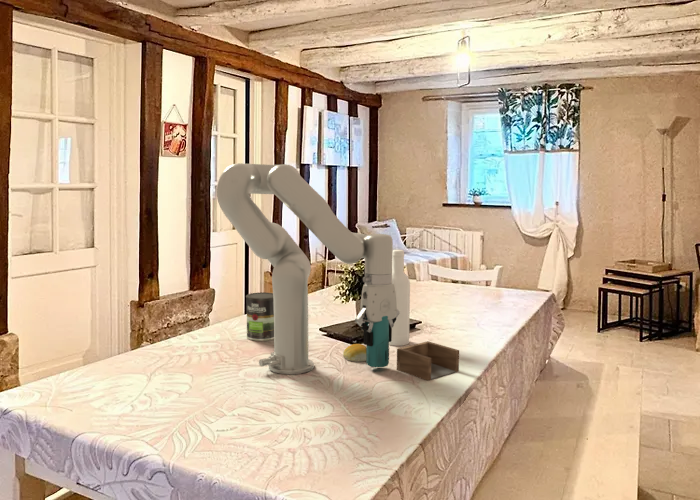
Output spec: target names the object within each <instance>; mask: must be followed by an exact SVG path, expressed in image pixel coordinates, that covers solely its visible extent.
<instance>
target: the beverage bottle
mask: <svg viewBox="0 0 700 500" xmlns="http://www.w3.org/2000/svg"><path fill="white" fill-rule="evenodd" d="M368 325H369V322H368V324H367V326H368ZM371 332H373V346H367V345H365V346H366V357H367V358H366V359H367V361H366V364H367V366H369V367H372V368H385V367H387V366H389V363H390V345H389V320H388V316H383V317H382V321H380V322H376V323H374V324H373V327H372V330H371Z"/></svg>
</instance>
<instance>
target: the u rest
mask: <svg viewBox="0 0 700 500" xmlns="http://www.w3.org/2000/svg"><path fill="white" fill-rule="evenodd" d="M459 368H460V349H456V348H453V347H449V346H446V345H442V344H439V343H435V342H432V341H424V342H420V343H415V344H412V345H405V346H401V347H398V348H396V371H399V372H402V373H405V374H408V375H411V376H413V377H417V378H419V379H422V380H424V381H432V380H434V379H438V378H442V377H445V376H448V375H451V374H454V373H458V372H459V371H460V369H459Z"/></svg>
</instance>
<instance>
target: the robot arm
mask: <svg viewBox="0 0 700 500" xmlns="http://www.w3.org/2000/svg"><path fill="white" fill-rule="evenodd" d="M250 194H251V195H252V194H253V195H255V194H256V195H275V196H276V197H277V199H279V200H280V201H281V202H282V203H283V204H284V205H285V207H287V208H288V209H289V210H290V211H291V212H292V213H293V214H294V215H295V216H296V217H297V218H298V219H299V220H300V221H301V222H302V223H303V224H304V225H305V226H306V228H307V229H308V230H309V231H311V233H312V234H313V235H314V236H315V237H316V238H317V239H318V240H319V242H320V243H321V244H322V245H324V247H326V248H327V250H328V251H330V252H331V254H333V256H335V257H336V258H337V259H338V260H339V261H340V262H343V263H345V264H347V265H348V264H349V265H353V264H356V263H358V262H359V261H360V260H362V259H364V276H363V277H362V282H363V283H364V284H363V286H362V290H361V299H360V310H359V312H358V314H357V316H356V317H355V319H354V322H355V323H356V324H357V325H358V326H359V328H360V329H361V331H363V345H364V346H366V345H367V346H373V332H371V330H372V327H373V324H374V323H376V322H380V321H382V317H383V316H388V320H389V342H391V341H392V327H393V326H394V323H395V321H396V318H397V317H398V315H399V314H400V312H399V310H398V309H397V299H396V291H395V286H394V283H392V253H393V250H394V249H393V248H394V247H393V238H392V236H391V235H389V234H386V233H373V234H365V233H358V232H352V231H351V230H349V228H348V227H347V226H345V224H344V223H343V222H342V221H340V219H339V218H338V217H337V216H336V214H335V213H334V212H333V210H332V208H331V207H330V205H329V204H328V202H327V201H326V200H325V198H324V197H323V196H322V195H321V194H320V193H319V192H317V191H316V190H315V189H314V188H313V187H312V186H311V185H310V184H309V183H308V182H307V181H306V180H305V179H304V178H303V177H302V176H301V174H300V172H299V171H298V169H297V168H296V167H294V165H290V164H283V163H282V164H262V163H261V164H260V163H259V164H258V163H241V162H240V163H233V164H231V165H229V166H227V167H226V168H225V169H224V170H223V172H222V173H221V174H220V177H219V179H218V181H217V186H216V197H217V198H216V199H217V202H218V205H219V208H220V210H221V211H222V212H223V214H224V216H225V217H226V218H227V220H228V221H229V222H230V223H231V224H232V226H233V227H234V228H235V230H236V232H237V233H238V234H239V236H240V237H241V238H242V239H243V241H244V242H245V244H247V246H248V247H249V248H250V249H251V251H252V252H253V253H254V254H255V256H256V257H258V258H260V259H263V260H267V261H268V263H270V265H272V267H273V269H272V274H271V284H272V285H271V286H272V293H273V301H274V339H273V345H274V346H273V348H274V349H273V352H271V353H270V356H268V358H262V359H259V360H258V365H259V366H260V367H265V366H268V369H269V371H271V372H273V373H276V374H282V375H299V374H304V373H307V372H310V371H312V370H313V369H314V367H315V363H314V361H313V360H312V359H309V295H308V294H309V293H308V292H309V290H308V283H309V282H308V281H309V277H310V274H311V271H312V270H311V269H312V265H311V262H310V260H309V258H308V257H307V255H306V253H304V251H303V250H302V249H301V248H300V246H299V245H298V244H297V242H296V241H295V240H294V238H292V236H291V235H290V233H289V232H288V231H287V229H285V228H284V226H281V224H279V223H275V222H271V221H270V220H269V219H268V218H267V217H266V215H265V214H264V213H263V211H262V210H261V209H260V208H259V206H258V205H257V204H256V203H255V202H254V201H253V199H252V198H251V196H250ZM368 322H369V325H368V326H367V324H368Z"/></svg>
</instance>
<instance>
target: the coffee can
mask: <svg viewBox="0 0 700 500" xmlns="http://www.w3.org/2000/svg"><path fill="white" fill-rule="evenodd" d="M245 298H246V339H247V340H250V341H255V342H266V341H272V340H273V341H274V301H273V292H261V291H260V292H252V293H247V294H246V295H245Z"/></svg>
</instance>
